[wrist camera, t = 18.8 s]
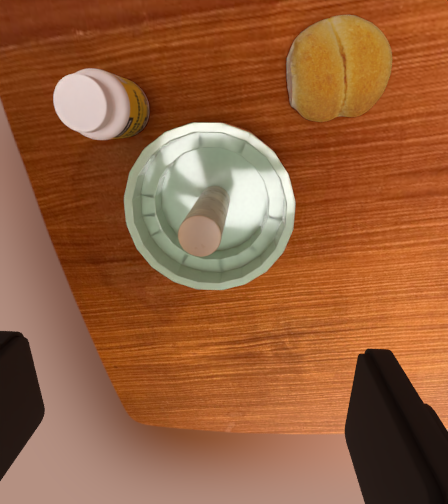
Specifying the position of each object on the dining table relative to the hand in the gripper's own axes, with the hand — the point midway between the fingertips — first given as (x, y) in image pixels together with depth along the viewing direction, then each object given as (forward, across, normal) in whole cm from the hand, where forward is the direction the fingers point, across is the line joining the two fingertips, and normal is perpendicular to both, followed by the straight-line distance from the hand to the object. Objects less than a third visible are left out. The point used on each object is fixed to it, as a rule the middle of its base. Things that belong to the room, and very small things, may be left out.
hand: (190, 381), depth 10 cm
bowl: (+28, +2, +1) cm, 28 cm away
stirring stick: (+28, +2, +1) cm, 28 cm away
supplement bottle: (+28, +11, -8) cm, 32 cm away
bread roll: (+28, -9, -11) cm, 32 cm away
